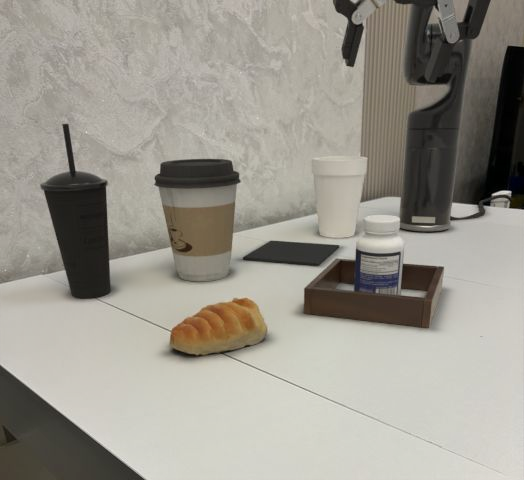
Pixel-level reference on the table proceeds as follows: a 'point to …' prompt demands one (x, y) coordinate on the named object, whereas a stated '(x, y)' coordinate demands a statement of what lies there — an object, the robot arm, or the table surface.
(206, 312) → the pastry
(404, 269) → the tray
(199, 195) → the coffee cup
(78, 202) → the drinking cup
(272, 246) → the mat
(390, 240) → the pill bottle
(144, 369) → the table surface
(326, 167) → the foam cup
